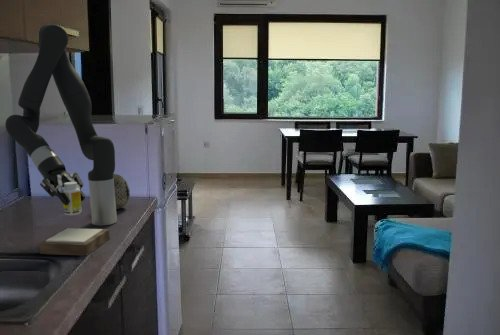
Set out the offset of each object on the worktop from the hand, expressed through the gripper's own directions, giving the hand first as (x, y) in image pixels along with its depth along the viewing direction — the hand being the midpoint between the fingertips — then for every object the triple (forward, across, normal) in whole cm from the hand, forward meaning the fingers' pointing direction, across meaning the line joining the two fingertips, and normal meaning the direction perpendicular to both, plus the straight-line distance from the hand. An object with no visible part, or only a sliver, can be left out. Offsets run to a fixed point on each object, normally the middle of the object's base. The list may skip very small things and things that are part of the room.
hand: (75, 201), depth 157 cm
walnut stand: (+10, 0, +12) cm, 15 cm away
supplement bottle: (+2, 0, +4) cm, 5 cm away
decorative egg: (-6, +42, +28) cm, 51 cm away
